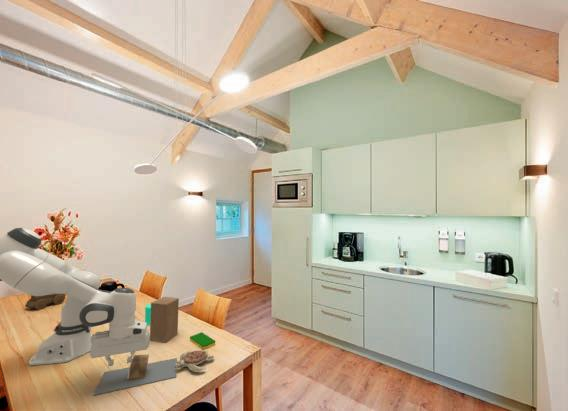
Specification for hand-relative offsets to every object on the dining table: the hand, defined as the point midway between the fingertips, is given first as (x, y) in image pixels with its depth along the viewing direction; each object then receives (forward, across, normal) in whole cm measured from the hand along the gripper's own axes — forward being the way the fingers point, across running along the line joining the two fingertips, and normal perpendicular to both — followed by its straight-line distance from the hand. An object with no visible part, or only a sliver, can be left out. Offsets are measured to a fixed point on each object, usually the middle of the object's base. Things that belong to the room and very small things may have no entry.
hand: (120, 363), depth 99 cm
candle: (+7, +5, +53) cm, 54 cm away
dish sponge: (+7, +33, +18) cm, 38 cm away
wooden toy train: (+8, -68, +110) cm, 129 cm away
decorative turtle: (+6, +28, 0) cm, 29 cm away
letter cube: (+2, +4, 0) cm, 4 cm away
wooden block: (+6, +14, +31) cm, 35 cm away
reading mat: (+6, +7, 0) cm, 10 cm away
